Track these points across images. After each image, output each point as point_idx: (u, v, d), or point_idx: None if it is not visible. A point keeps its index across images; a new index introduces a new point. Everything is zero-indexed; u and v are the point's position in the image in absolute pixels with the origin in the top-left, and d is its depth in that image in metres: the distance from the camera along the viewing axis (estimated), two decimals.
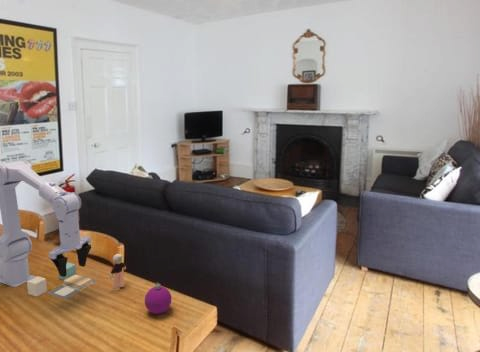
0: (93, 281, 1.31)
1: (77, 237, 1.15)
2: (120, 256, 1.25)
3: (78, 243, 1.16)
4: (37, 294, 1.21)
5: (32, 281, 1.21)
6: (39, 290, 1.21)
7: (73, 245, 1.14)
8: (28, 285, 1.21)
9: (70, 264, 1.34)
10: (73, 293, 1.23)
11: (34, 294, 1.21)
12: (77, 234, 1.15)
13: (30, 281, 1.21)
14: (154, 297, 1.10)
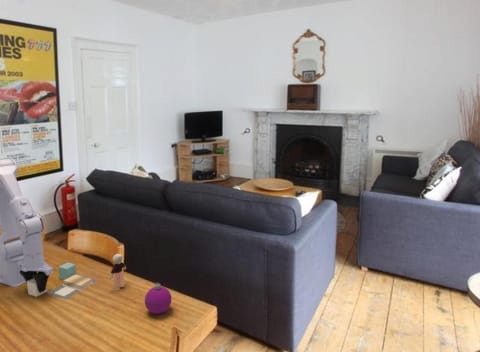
0: (93, 281, 1.31)
1: (26, 260, 1.18)
2: (120, 256, 1.25)
3: (28, 266, 1.18)
4: (37, 294, 1.21)
5: (32, 281, 1.21)
6: None
7: (24, 265, 1.19)
8: (28, 285, 1.21)
9: (70, 264, 1.34)
10: (73, 293, 1.23)
11: (34, 294, 1.21)
12: (26, 257, 1.18)
13: (30, 281, 1.21)
14: (154, 297, 1.10)
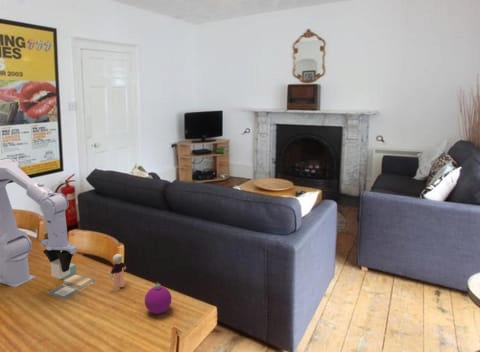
0: (93, 281, 1.31)
1: (51, 239, 1.17)
2: (120, 256, 1.25)
3: (52, 245, 1.18)
4: (61, 275, 1.20)
5: (55, 262, 1.21)
6: (62, 271, 1.21)
7: (49, 244, 1.19)
8: (51, 266, 1.21)
9: (70, 264, 1.34)
10: (73, 293, 1.23)
11: (58, 275, 1.20)
12: (51, 236, 1.17)
13: (53, 262, 1.21)
14: (154, 297, 1.10)
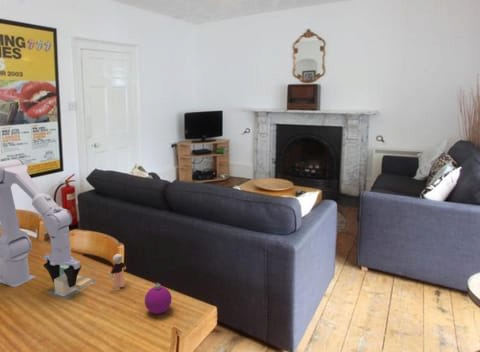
0: (93, 281, 1.31)
1: (54, 254, 1.19)
2: (120, 256, 1.25)
3: (56, 260, 1.19)
4: (64, 292, 1.22)
5: (59, 279, 1.22)
6: (66, 288, 1.22)
7: (52, 259, 1.20)
8: (55, 283, 1.22)
9: None
10: (73, 293, 1.23)
11: (61, 292, 1.22)
12: (54, 251, 1.18)
13: (57, 279, 1.22)
14: (154, 297, 1.10)
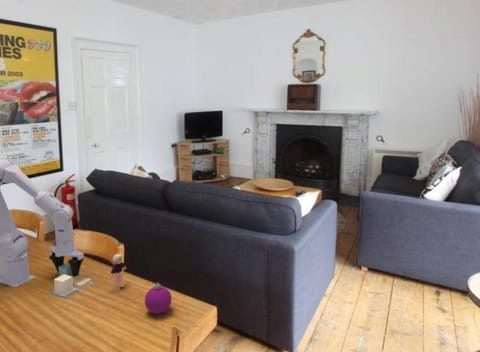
0: (93, 281, 1.31)
1: (59, 246, 1.28)
2: (120, 256, 1.25)
3: (61, 252, 1.29)
4: (64, 292, 1.22)
5: (59, 279, 1.22)
6: (66, 288, 1.22)
7: (57, 251, 1.30)
8: (55, 283, 1.22)
9: None
10: (73, 293, 1.23)
11: (61, 292, 1.22)
12: (59, 244, 1.28)
13: (57, 279, 1.22)
14: (154, 297, 1.10)
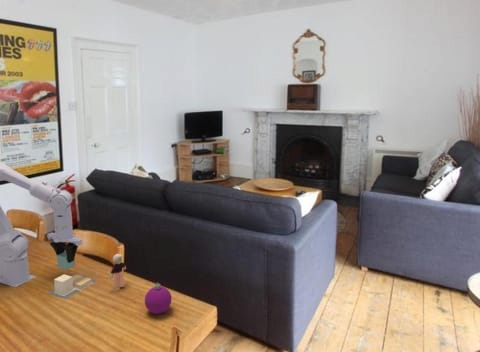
0: (93, 281, 1.31)
1: (58, 232, 1.27)
2: (120, 256, 1.25)
3: (59, 238, 1.28)
4: (64, 292, 1.22)
5: (59, 279, 1.22)
6: (66, 288, 1.22)
7: (55, 237, 1.28)
8: (55, 283, 1.22)
9: None
10: (73, 293, 1.23)
11: (61, 292, 1.22)
12: (58, 229, 1.27)
13: (57, 279, 1.22)
14: (154, 297, 1.10)
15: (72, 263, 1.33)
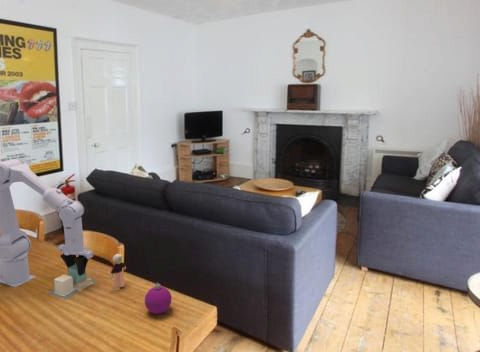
0: (93, 281, 1.31)
1: (68, 244, 1.23)
2: (120, 256, 1.25)
3: (69, 250, 1.24)
4: (64, 292, 1.22)
5: (59, 279, 1.22)
6: (66, 288, 1.22)
7: (66, 249, 1.24)
8: (55, 283, 1.22)
9: None
10: (73, 293, 1.23)
11: (61, 292, 1.22)
12: (68, 241, 1.23)
13: (57, 279, 1.22)
14: (154, 297, 1.10)
15: (83, 276, 1.29)
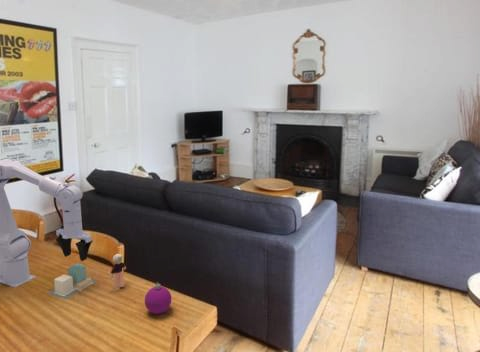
0: (93, 281, 1.31)
1: (67, 228, 1.22)
2: (120, 256, 1.25)
3: (68, 234, 1.22)
4: (64, 292, 1.22)
5: (59, 279, 1.22)
6: (66, 288, 1.22)
7: (64, 233, 1.23)
8: (55, 283, 1.22)
9: (80, 265, 1.29)
10: (73, 293, 1.23)
11: (61, 292, 1.22)
12: (67, 225, 1.22)
13: (57, 279, 1.22)
14: (154, 297, 1.10)
15: (83, 276, 1.29)
